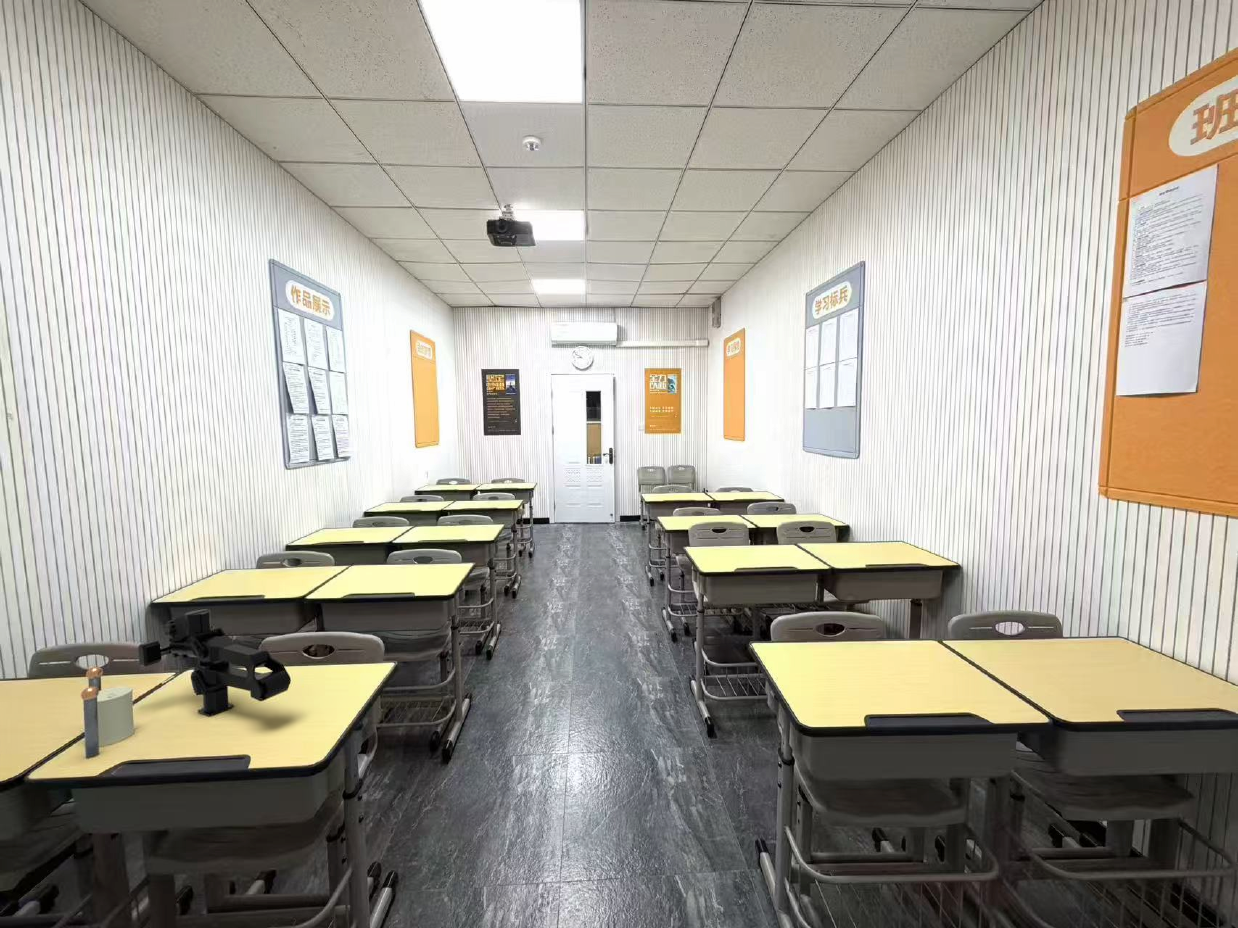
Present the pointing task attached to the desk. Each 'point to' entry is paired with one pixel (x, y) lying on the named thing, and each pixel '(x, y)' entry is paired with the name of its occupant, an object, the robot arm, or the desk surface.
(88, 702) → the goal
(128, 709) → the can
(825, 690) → the desk surface
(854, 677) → the desk surface
